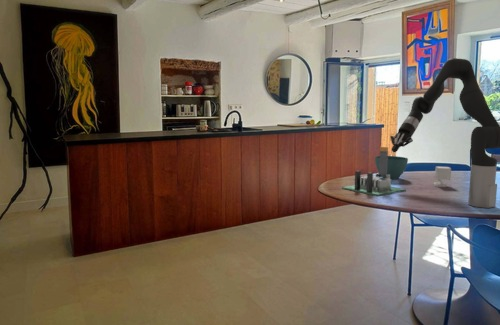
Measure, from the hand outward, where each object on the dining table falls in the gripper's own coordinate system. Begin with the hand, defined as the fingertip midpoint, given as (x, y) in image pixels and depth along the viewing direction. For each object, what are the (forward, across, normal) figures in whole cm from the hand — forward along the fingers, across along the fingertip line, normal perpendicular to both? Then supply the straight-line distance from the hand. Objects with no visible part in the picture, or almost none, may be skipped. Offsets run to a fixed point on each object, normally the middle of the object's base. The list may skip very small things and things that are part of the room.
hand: (393, 151), depth 205 cm
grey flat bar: (+14, 0, +3) cm, 15 cm away
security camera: (-3, +14, +30) cm, 33 cm away
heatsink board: (+23, 0, +4) cm, 23 cm away
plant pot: (-2, -16, +28) cm, 33 cm away
